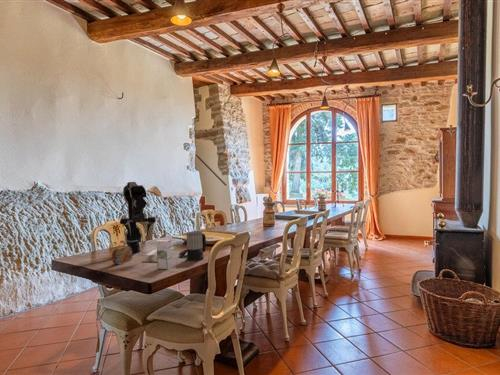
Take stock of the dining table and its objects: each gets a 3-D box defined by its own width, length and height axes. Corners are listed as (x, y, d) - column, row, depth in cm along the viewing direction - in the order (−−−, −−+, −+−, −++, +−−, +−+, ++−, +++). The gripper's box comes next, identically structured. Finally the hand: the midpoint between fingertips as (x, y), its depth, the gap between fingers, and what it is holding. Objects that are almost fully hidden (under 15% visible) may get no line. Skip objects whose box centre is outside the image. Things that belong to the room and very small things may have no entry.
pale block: (143, 262, 191) (143, 255, 191) (159, 253, 211) (158, 247, 211) (161, 262, 190) (160, 255, 189) (174, 254, 209) (174, 247, 209)
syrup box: (172, 266, 178) (171, 238, 178) (167, 269, 172) (166, 240, 172) (162, 266, 179) (161, 238, 179) (157, 269, 173) (155, 240, 173)
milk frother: (200, 261, 188) (199, 234, 187) (172, 261, 190) (171, 234, 190) (208, 255, 202) (207, 229, 201) (182, 255, 204) (181, 229, 204)
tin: (116, 266, 182) (115, 250, 182) (110, 266, 183) (110, 250, 183) (133, 259, 197) (133, 244, 196) (128, 259, 198) (128, 244, 197)
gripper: (117, 210, 185) (118, 239, 185) (153, 208, 188) (154, 237, 189) (121, 208, 196) (122, 235, 196) (155, 206, 199) (156, 233, 200)
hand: (138, 235), depth 195 cm, fingers open, 9 cm apart
